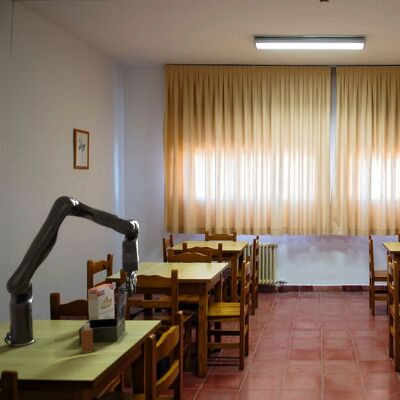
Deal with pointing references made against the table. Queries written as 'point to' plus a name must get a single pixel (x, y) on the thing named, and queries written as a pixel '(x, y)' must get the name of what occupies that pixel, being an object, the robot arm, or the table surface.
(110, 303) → the cracker box
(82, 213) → the robot arm
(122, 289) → the lid
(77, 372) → the table surface
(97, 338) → the warmer
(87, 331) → the bottle
